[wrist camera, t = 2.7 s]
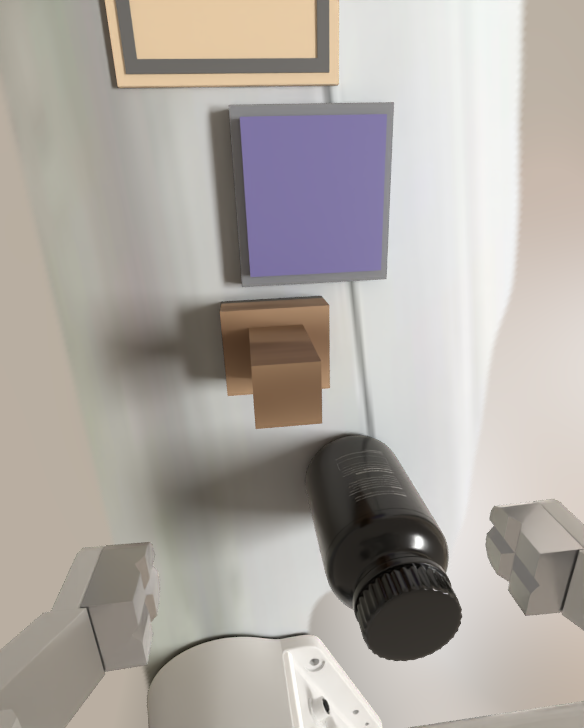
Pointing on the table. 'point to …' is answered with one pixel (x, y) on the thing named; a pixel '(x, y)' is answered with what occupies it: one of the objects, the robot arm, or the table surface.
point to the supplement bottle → (381, 548)
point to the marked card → (224, 42)
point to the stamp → (278, 357)
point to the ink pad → (312, 191)
